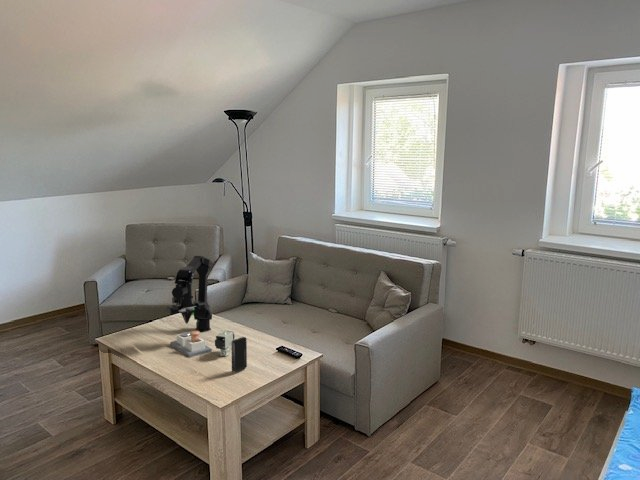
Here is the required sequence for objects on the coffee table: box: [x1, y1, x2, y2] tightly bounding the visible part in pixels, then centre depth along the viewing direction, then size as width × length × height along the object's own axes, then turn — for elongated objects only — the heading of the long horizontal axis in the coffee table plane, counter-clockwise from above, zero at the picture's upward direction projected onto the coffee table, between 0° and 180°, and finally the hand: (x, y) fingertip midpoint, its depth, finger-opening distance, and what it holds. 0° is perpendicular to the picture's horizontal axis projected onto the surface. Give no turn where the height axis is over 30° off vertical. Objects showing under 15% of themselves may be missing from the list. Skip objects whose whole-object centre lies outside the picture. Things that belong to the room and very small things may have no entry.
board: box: [169, 333, 213, 358], centre depth 252 cm, size 12×22×6 cm, turn 40°
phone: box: [230, 336, 248, 373], centre depth 225 cm, size 8×1×15 cm, turn 138°
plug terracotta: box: [189, 330, 201, 343], centre depth 247 cm, size 5×5×5 cm
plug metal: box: [180, 331, 191, 338], centre depth 255 cm, size 5×5×5 cm
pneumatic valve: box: [214, 330, 236, 358], centre depth 243 cm, size 6×12×12 cm, turn 161°
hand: (186, 323), depth 253 cm, fingers closed
